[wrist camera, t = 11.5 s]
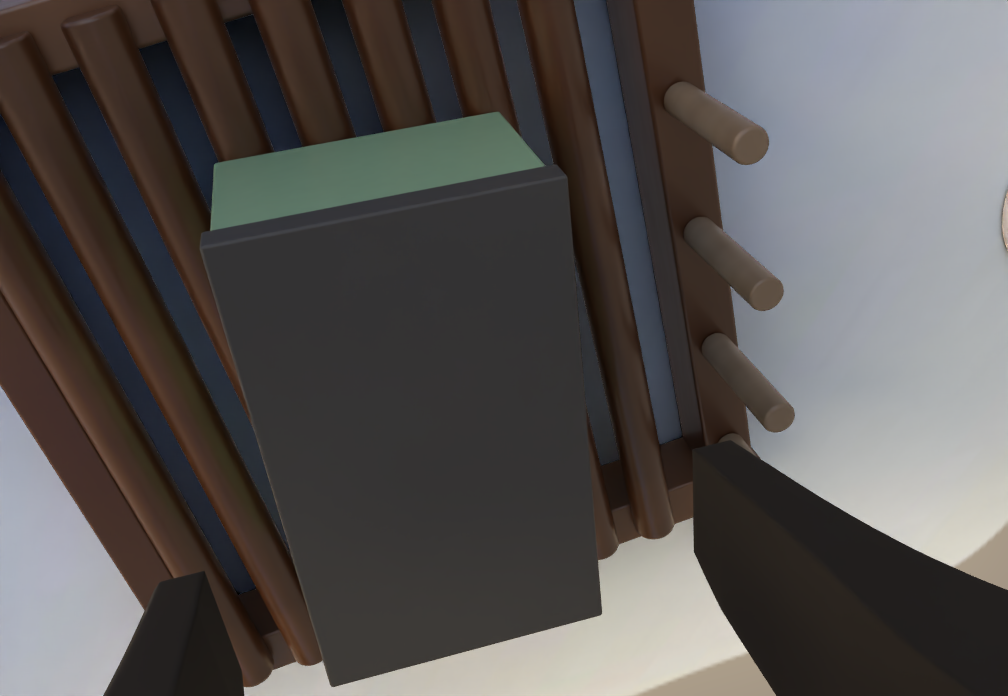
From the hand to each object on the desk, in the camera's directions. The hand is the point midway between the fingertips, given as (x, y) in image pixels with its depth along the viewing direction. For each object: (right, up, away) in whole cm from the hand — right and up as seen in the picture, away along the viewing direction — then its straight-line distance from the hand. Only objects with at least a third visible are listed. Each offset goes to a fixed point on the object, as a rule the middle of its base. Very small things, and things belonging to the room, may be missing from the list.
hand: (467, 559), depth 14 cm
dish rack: (-2, +4, +8) cm, 9 cm away
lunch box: (-2, +3, +6) cm, 7 cm away
